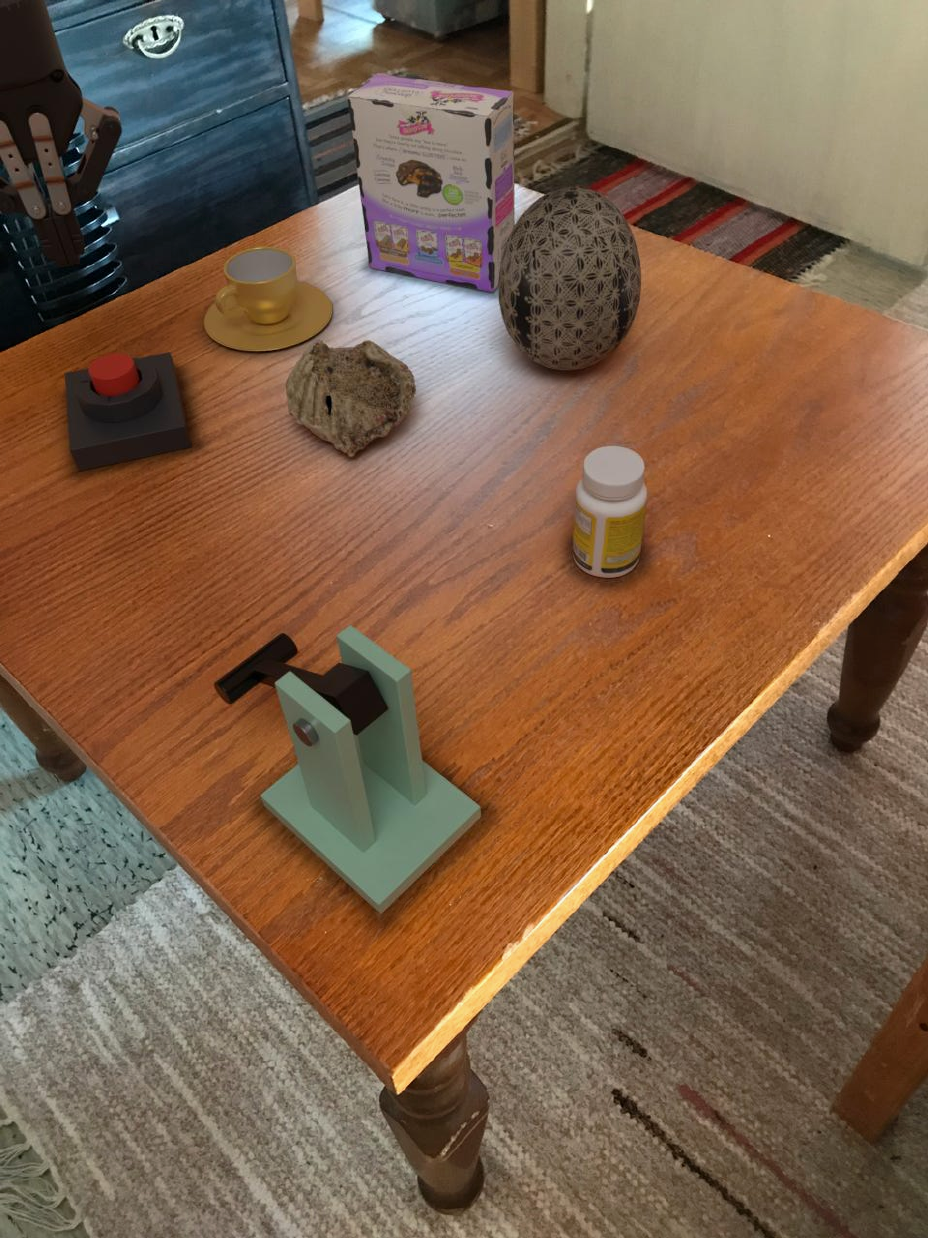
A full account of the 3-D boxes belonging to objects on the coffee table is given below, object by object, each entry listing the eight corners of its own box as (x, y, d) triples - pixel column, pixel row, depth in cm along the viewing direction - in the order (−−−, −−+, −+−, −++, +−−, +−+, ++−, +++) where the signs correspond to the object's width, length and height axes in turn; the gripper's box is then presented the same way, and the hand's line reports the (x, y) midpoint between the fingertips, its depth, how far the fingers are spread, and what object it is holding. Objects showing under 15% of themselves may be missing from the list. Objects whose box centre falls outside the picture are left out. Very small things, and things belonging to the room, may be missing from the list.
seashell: (334, 495, 80) (441, 436, 78) (285, 444, 74) (399, 379, 72) (311, 404, 86) (409, 347, 84) (265, 351, 81) (369, 289, 78)
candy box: (517, 266, 97) (517, 88, 84) (492, 295, 93) (489, 115, 81) (393, 240, 101) (377, 68, 89) (366, 268, 98) (344, 92, 85)
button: (141, 391, 79) (135, 373, 78) (96, 401, 79) (89, 382, 77) (137, 367, 81) (131, 349, 80) (93, 376, 81) (86, 358, 80)
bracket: (263, 806, 58) (213, 670, 48) (363, 722, 61) (335, 581, 52) (380, 915, 53) (351, 789, 43) (481, 817, 57) (475, 681, 47)
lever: (226, 708, 57) (205, 675, 56) (292, 657, 59) (274, 625, 58) (335, 754, 47) (312, 715, 46) (409, 691, 49) (389, 653, 48)
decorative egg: (660, 356, 86) (683, 187, 75) (572, 418, 81) (581, 245, 69) (560, 308, 92) (566, 143, 80) (471, 362, 86) (465, 194, 75)
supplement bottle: (647, 543, 71) (660, 451, 64) (627, 587, 68) (639, 496, 62) (584, 526, 72) (591, 434, 66) (562, 569, 69) (567, 477, 63)
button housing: (191, 447, 80) (179, 407, 77) (78, 471, 78) (61, 431, 75) (176, 372, 87) (164, 333, 84) (73, 394, 85) (56, 354, 82)
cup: (280, 271, 98) (270, 218, 94) (359, 315, 92) (352, 261, 88) (179, 321, 92) (164, 267, 88) (257, 371, 87) (244, 316, 83)
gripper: (-153, 21, 55) (-27, 303, 68) (89, -10, 57) (166, 268, 70) (-140, -18, 60) (-25, 252, 73) (83, -45, 62) (156, 221, 75)
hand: (69, 259), depth 71 cm, fingers closed
